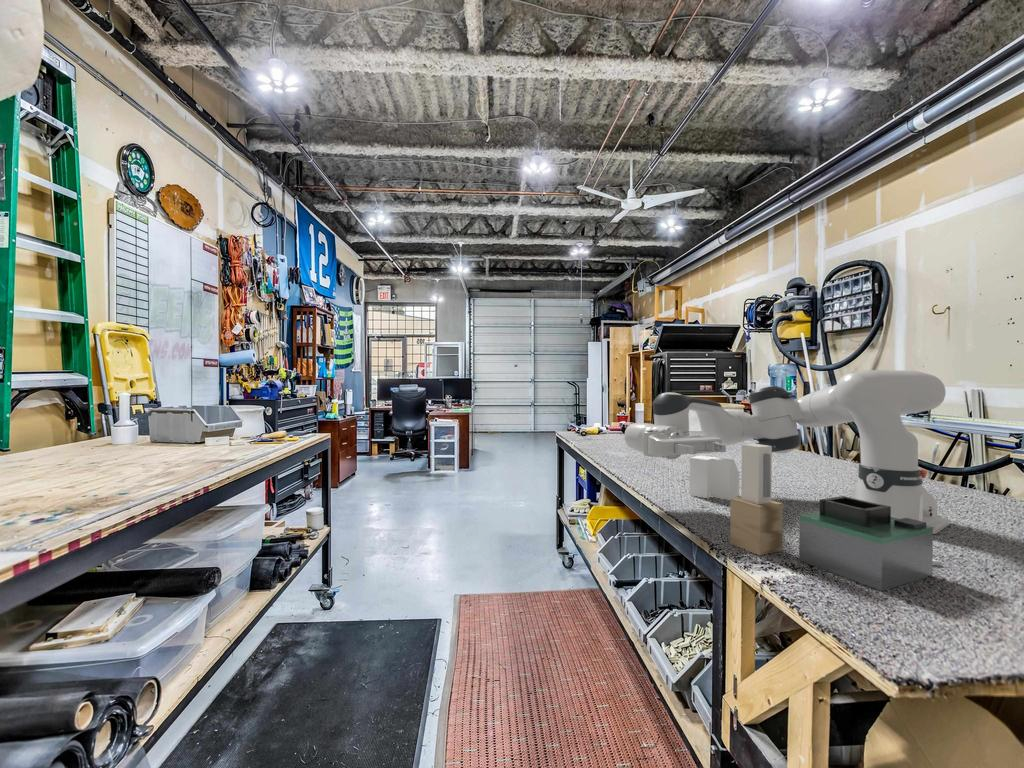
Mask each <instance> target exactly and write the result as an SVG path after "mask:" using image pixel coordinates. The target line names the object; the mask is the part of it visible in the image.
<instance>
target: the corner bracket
mask: <svg viewBox="0 0 1024 768" xmlns="http://www.w3.org/2000/svg"><path fill="white" fill-rule="evenodd" d="M740 475H741V474H740V471H739V468H738V467H737V463H736V462H735V459H729V458H722V457H714V456H707V455H700V454H699V455H696V456H693V457H689V496H690V495H694V496H699V497H703V498H702V499H704V498H708V499H710V498H709V497H711V496H713V497H717V498H716V499H718V498H722V499H721V500H723V499H727V500H726V501H729V500H731V498H735V497H736V498H737V496H738V497H740V478H741V477H740ZM694 496H693V497H694ZM699 497H698V498H699ZM713 497H711V498H713Z"/></svg>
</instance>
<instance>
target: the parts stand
mask: <svg viewBox="0 0 1024 768" xmlns="http://www.w3.org/2000/svg"><path fill="white" fill-rule="evenodd" d="M729 502H730V505H729V506H730V511H729V512H730V513H729V514H730V516H729V518H730V524H729V525H730V526H729V531H730V532H729V544H730V545H732V544H733V545H732V546H734V545H735V547H737V546H738V547H737V548H739V547H740V548H739V549H742V548H743V549H742V550H744V549H745V550H744V551H746V552H748V553H751V552H752V554H754V555H756V554H757V556H759V557H760V556H764V554H765V555H768V553H770V554H773V553H779V552H783V536H784V535H783V532H784V530H783V528H784V526H783V525H784V522H783V520H784V518H783V517H784V514H783V512H784V511H783V509H784V503H783V502H779V501H775V500H772V499H771V502H770V503H764V504H755V503H752V502H748V501H745V500H741V496H738V497H736V498H731V500H730V501H729ZM778 551H779V552H778Z"/></svg>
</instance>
